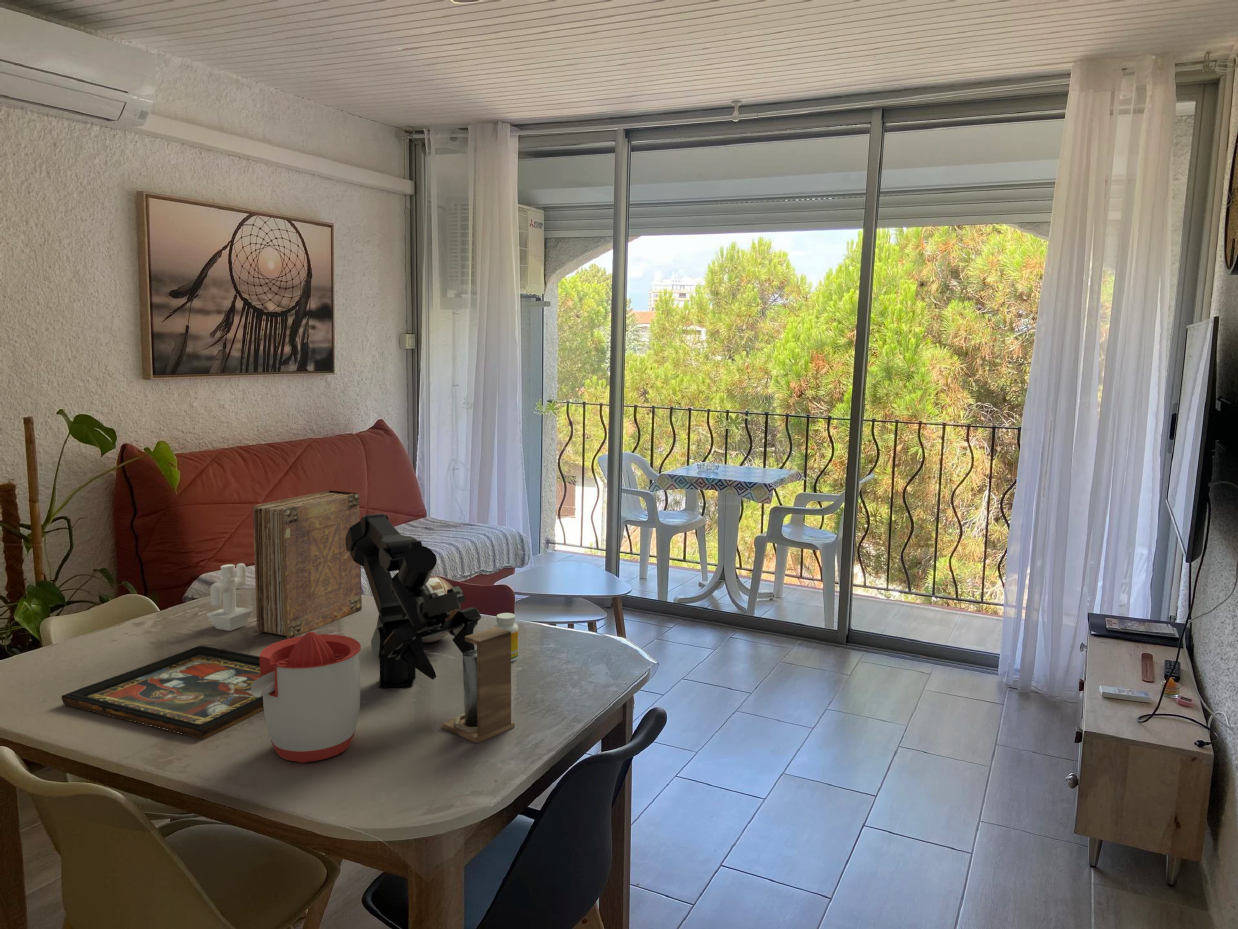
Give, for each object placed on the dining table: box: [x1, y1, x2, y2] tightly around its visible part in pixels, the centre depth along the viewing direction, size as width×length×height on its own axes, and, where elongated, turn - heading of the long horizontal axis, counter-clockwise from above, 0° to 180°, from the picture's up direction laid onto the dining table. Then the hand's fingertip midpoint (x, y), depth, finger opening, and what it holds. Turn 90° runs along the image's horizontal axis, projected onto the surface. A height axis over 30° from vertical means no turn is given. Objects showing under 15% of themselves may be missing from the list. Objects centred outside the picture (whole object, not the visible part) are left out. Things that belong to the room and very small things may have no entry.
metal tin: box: [462, 649, 478, 727], centre depth 152 cm, size 4×4×12 cm
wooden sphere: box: [422, 574, 462, 644], centre depth 197 cm, size 15×15×15 cm
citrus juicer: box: [251, 630, 362, 764], centre depth 143 cm, size 16×17×20 cm
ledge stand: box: [441, 626, 516, 744], centre depth 152 cm, size 9×9×18 cm
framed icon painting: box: [61, 645, 264, 740], centre depth 167 cm, size 38×35×3 cm
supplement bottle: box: [493, 612, 519, 663], centre depth 186 cm, size 5×5×10 cm
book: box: [252, 490, 363, 639], centre depth 208 cm, size 25×9×30 cm, turn 157°
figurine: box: [205, 562, 254, 632], centre depth 204 cm, size 7×9×15 cm
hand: (455, 671), depth 156 cm, fingers open, 9 cm apart
